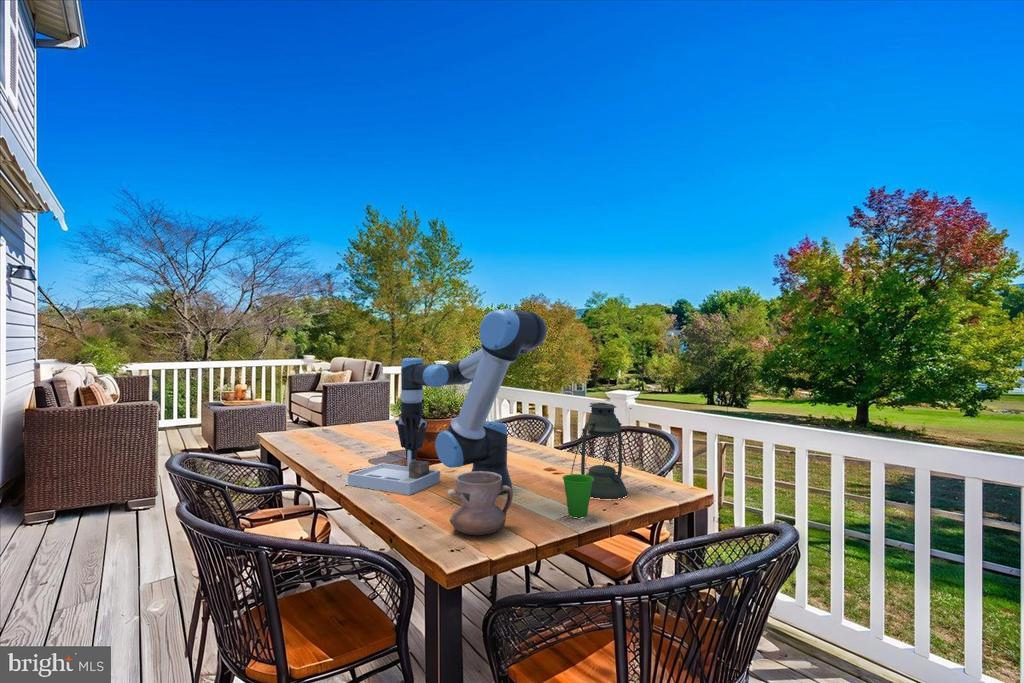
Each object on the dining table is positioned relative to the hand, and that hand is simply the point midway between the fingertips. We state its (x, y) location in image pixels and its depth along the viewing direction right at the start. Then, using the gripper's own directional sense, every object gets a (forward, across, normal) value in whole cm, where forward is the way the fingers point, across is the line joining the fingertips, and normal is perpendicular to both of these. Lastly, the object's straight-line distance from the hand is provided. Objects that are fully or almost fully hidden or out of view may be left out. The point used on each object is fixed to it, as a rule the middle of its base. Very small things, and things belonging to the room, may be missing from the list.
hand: (411, 468), depth 177 cm
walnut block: (+3, -3, 0) cm, 4 cm away
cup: (+6, -63, +7) cm, 64 cm away
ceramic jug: (+6, -43, +28) cm, 52 cm away
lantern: (+6, -64, -19) cm, 67 cm away
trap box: (+5, +5, +3) cm, 8 cm away
